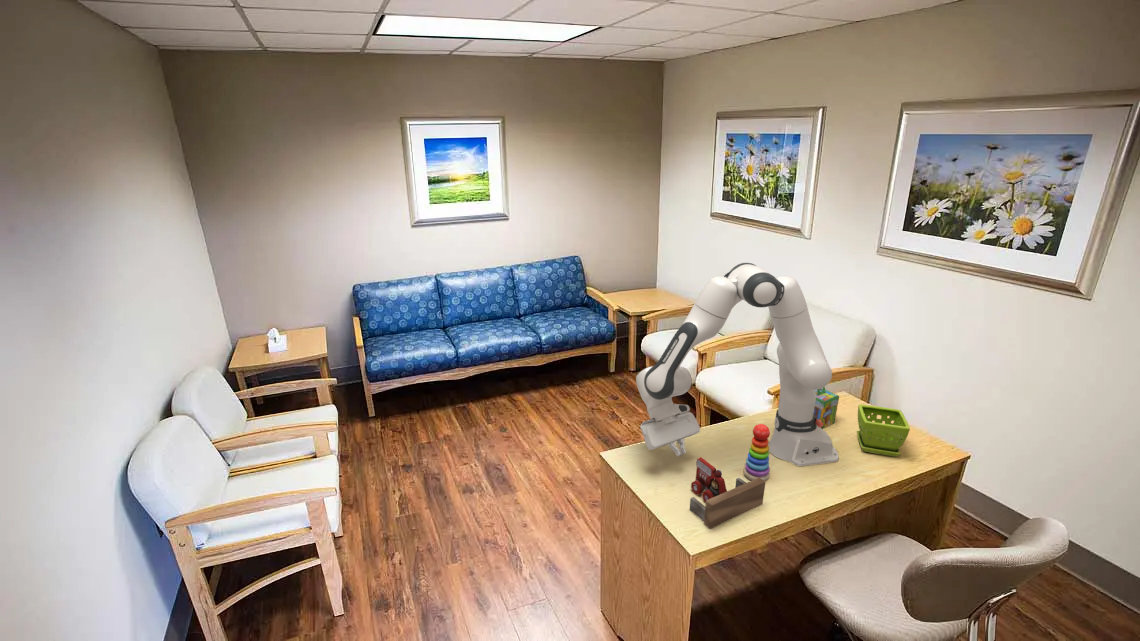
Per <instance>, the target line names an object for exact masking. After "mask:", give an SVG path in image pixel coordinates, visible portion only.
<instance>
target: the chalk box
mask: <svg viewBox="0 0 1140 641" xmlns="http://www.w3.org/2000/svg"><path fill="white" fill-rule="evenodd" d="M815 394H816V401H815V407H814V413H813V414H814V415H815V416H816V417H817V418H818V420H821V421H822V422H823V424H824V425H823V426H822V427H820V428H822V429H825V428H827V427H828V426H830V425H833V424H835V422H836V418H837V412H838V411H837V410H838V404H839V400H840V395H838V394H836V393H833V392H831V391H830V390H827V389H826V386H825V387H823V388H821V389H818V390H815Z"/></svg>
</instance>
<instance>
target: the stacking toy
mask: <svg viewBox="0 0 1140 641" xmlns="http://www.w3.org/2000/svg"><path fill="white" fill-rule="evenodd" d="M752 435H753V437H752V438H751V443H750V447H749V448H748V449H749V450H748V453H747V458H746V459H745V465H744V466H745V467H744V468H743V475H744V476H745V477H746V478H747V479H748V480H750V481H752V480H754V479H757V478H761V479H762V480H764V481H765V482H766V481H767V480H769V478H770V476H771V475H770V474H771V473H770V470H771V469H770V462H769V461H770V457H769V454H770V451H769V446H768V444H769V442H770V440H769V437H770V435H771V431H770V428H769V427H768V426H767V425H766V424H763V423H758V424H756V425H755V426H754V427H753V428H752Z"/></svg>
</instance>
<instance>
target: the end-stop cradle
mask: <svg viewBox="0 0 1140 641" xmlns="http://www.w3.org/2000/svg"><path fill="white" fill-rule="evenodd" d="M765 489H766V481H764V480H762V479H761V478H757V479H754V480H750V481H747V482H746V481H745V480H743V479H742V478H740V477H737V478H736V479H735V486H734V488H731V489H729V490H727V492H725V493H722V494H720V495H718V496H715V497H713V498H711V499H709V500H706V503H705V505H704V504H703V503H702V502H700V500H698V499H697V498H696V497H694V496H693V497H690V499H689V508H688V509H689V510H690V511H691V512H692V513H693V514H694V515H695V516H696V517H698V518H699V519H700V520H701V521H702V522H703V525H704V526H706V527H707V529H709V530H711V529H714V528H715V527H717V526H719V525H723V523H726V522H728V521H730V520H732V519H734V518H736V517H738V516H740V515H743V514H745V513H747V512H749V511H752V510H754V509H756V508H758V507H760V506H762V505H763V503H764V496H765Z"/></svg>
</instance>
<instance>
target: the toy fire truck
mask: <svg viewBox="0 0 1140 641" xmlns="http://www.w3.org/2000/svg"><path fill="white" fill-rule="evenodd" d="M695 462H696V463H695V464H696V472H695V480H694V481H691V484H690V488H691V491H692V493H693V494H694V495H697V496H700V495H701V498H702V500H703V502H704V503H705V504H706V500H709V499H711V498H713V497H715V496H718V495H720V494H722V493H725V492H727V491H728V489H727V486H726V481H725V479H724V477H723V476H722V475H723V473H722V470H719V469H717V468H716V467H715V466H714V465H712V464H711V463H710V462H708V461H707V460H706V459H705V458H703V457H701V456H700V457H698V458H696V461H695Z"/></svg>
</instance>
